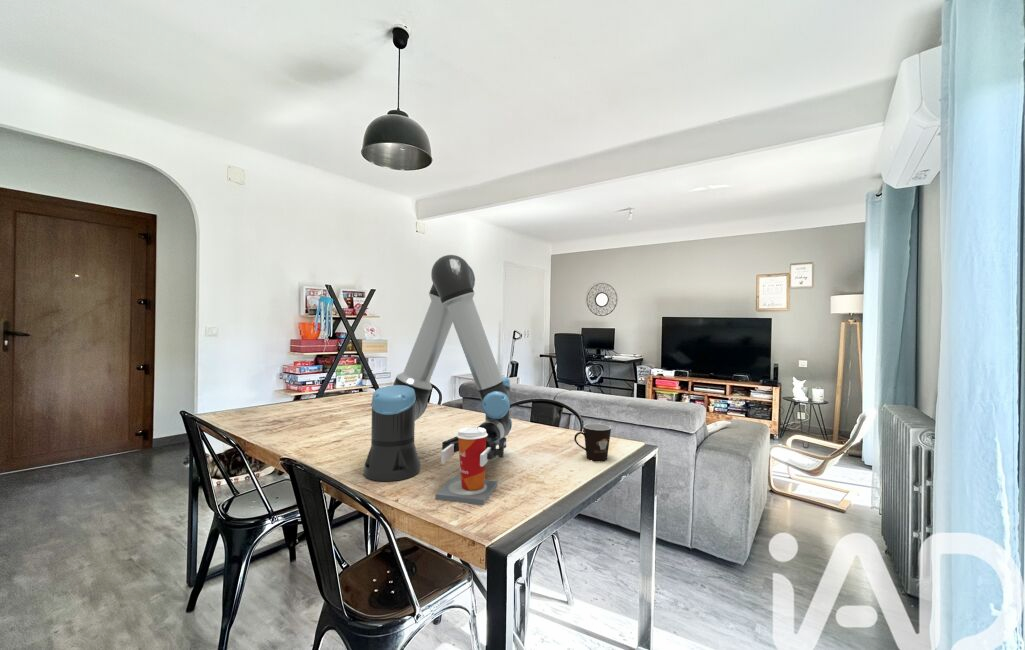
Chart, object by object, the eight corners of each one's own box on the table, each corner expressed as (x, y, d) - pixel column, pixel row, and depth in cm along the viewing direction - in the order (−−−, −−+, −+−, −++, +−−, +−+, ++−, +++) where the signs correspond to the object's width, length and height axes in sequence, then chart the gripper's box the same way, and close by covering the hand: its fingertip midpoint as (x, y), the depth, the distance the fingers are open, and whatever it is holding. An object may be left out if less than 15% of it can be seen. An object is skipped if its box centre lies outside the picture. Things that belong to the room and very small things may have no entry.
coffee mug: (608, 454, 136) (609, 424, 136) (612, 463, 127) (612, 430, 127) (572, 453, 137) (573, 422, 137) (574, 461, 128) (574, 429, 128)
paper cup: (460, 480, 107) (459, 426, 108) (489, 480, 107) (488, 426, 107) (455, 492, 100) (454, 433, 100) (486, 492, 99) (486, 433, 100)
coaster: (435, 499, 99) (435, 493, 99) (453, 481, 110) (453, 476, 110) (483, 505, 96) (483, 499, 96) (497, 485, 108) (497, 480, 108)
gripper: (525, 451, 118) (506, 479, 96) (453, 444, 123) (419, 470, 101) (525, 424, 118) (506, 446, 96) (453, 419, 123) (419, 439, 101)
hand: (461, 458), depth 99 cm, fingers open, 9 cm apart
